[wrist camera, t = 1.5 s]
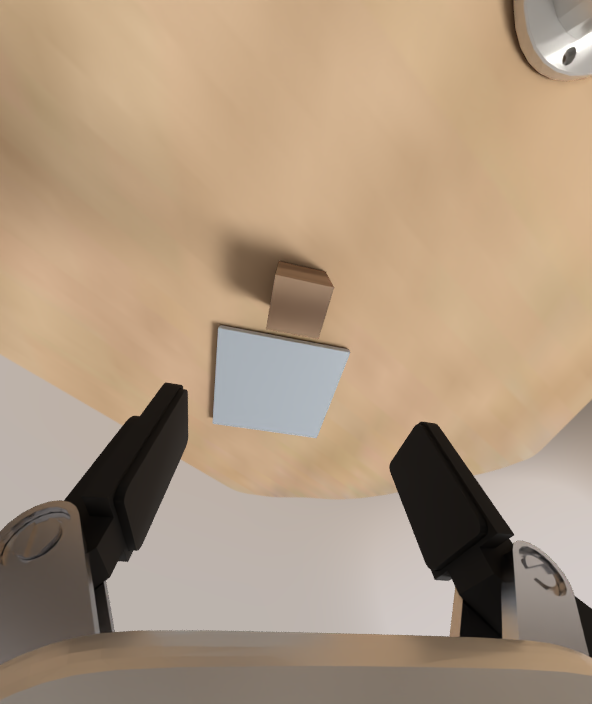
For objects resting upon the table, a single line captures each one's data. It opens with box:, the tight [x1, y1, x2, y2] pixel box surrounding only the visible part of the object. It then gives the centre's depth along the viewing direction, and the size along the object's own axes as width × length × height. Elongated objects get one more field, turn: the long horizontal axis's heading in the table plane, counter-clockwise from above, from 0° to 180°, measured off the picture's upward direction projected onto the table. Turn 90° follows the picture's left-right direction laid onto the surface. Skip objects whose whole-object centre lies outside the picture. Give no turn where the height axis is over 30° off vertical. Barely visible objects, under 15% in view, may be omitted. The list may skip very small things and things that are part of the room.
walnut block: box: [266, 261, 334, 339], centre depth 23 cm, size 5×5×6 cm
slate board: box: [213, 325, 350, 438], centre depth 33 cm, size 16×16×1 cm
